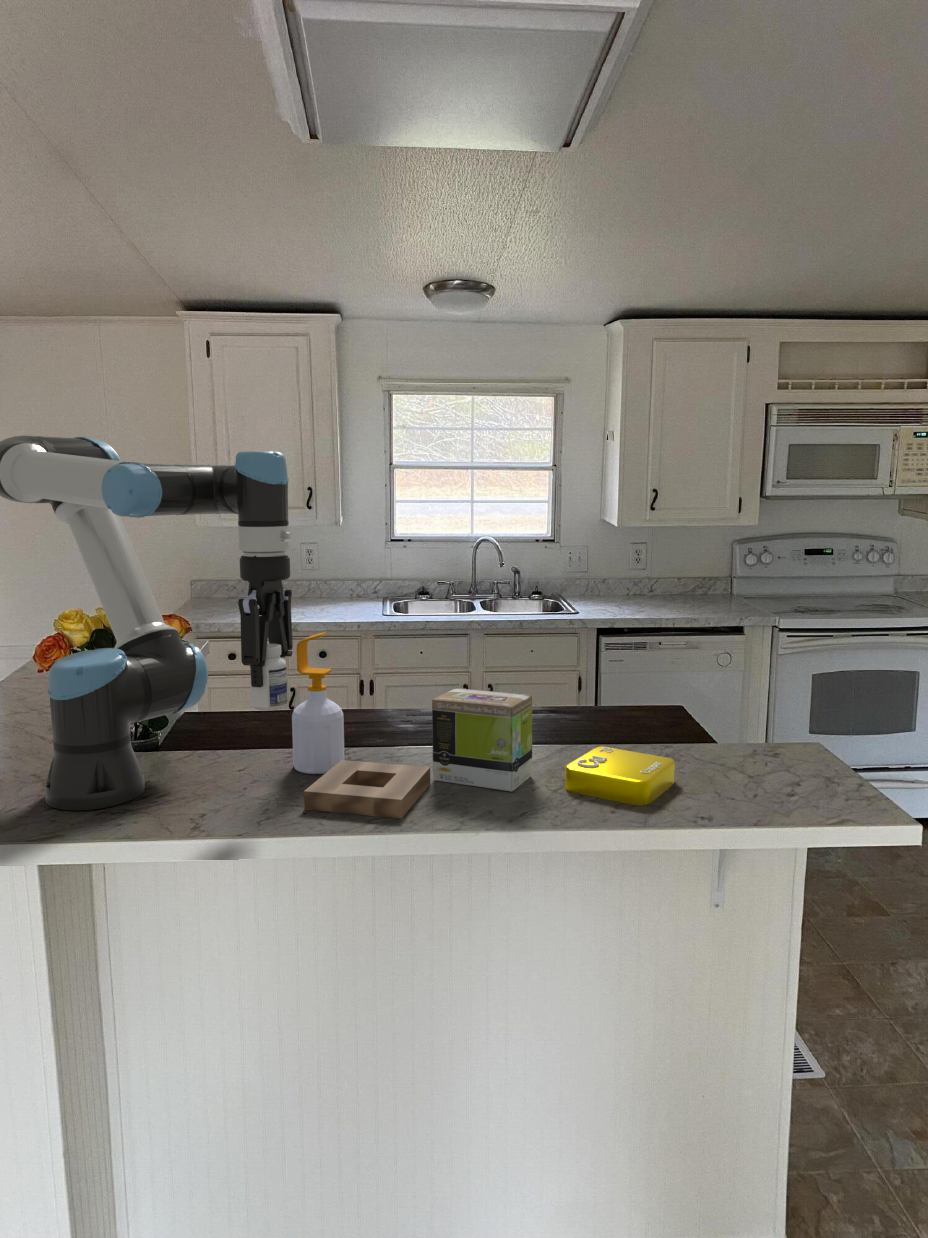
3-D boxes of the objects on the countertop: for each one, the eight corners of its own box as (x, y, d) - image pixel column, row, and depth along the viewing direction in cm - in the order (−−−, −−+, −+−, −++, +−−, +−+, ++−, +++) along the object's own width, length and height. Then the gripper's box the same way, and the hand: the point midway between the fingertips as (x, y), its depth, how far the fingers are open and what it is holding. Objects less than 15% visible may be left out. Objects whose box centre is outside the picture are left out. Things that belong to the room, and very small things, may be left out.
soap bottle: (334, 776, 154) (331, 638, 150) (285, 773, 155) (281, 636, 152) (351, 760, 162) (348, 629, 158) (304, 757, 164) (300, 627, 160)
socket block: (304, 809, 138) (303, 791, 138) (342, 776, 154) (341, 760, 153) (401, 818, 134) (401, 799, 134) (430, 784, 150) (430, 767, 149)
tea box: (533, 776, 154) (534, 693, 152) (512, 794, 145) (512, 707, 143) (455, 764, 160) (455, 685, 158) (430, 781, 151) (430, 697, 149)
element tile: (645, 809, 139) (646, 780, 139) (560, 791, 147) (560, 764, 147) (677, 783, 152) (678, 756, 151) (597, 767, 160) (598, 742, 159)
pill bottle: (249, 704, 140) (247, 644, 138) (283, 701, 142) (281, 641, 140) (255, 712, 135) (253, 650, 133) (290, 709, 137) (288, 647, 135)
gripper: (259, 559, 125) (264, 718, 128) (312, 549, 142) (315, 689, 146) (211, 558, 126) (218, 715, 130) (269, 549, 144) (274, 687, 148)
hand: (269, 701), depth 138 cm, fingers closed on pill bottle, 5 cm apart
